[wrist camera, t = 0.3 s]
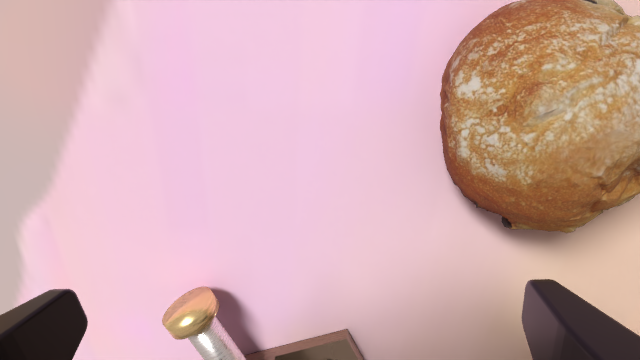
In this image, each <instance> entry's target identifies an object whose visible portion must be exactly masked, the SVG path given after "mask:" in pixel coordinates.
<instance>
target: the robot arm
mask: <svg viewBox="0 0 640 360" xmlns="http://www.w3.org/2000/svg"><path fill="white" fill-rule="evenodd" d="M87 323H88V321H87V317H86V314H85V312H84V310H83V308H82V306H81V304H80V301H79V299H78V297H77V295H76V293H75V292H74V291H73V290H70V289H53V290H49V291H47V292H45V293H43V294H41V295H39V296H37V297H35V298H33V299H31V300H29V301H28V302H26V303H24V304H22V305H20V306H18V307H16V308H14V309H12V310H10V311H8V312H6V313H4V314H2V315H0V360H72V359H73V357H74V355H75V352H76V350H77V348H78V346H79V344H80V342H81V340H82V338H83V336H84V334H85V332H86V329H87ZM522 324H523V328H524V332H525V335H526V338H527V342H528V345H529V348H530V351H531V355H532V358H533V360H640V336H639V335H637V334H635V333H634V332H632V331H631V330H629V329H628V328H626V327H625V326H623V325H622V324H620V323H619V322H617V321H616V320H614V319H613V318H611V317H609V316H608V315H606V314H605V313H603V312H602V311H600V310H599V309H597V308H596V307H594V306H593V305H591V304H590V303H588V302H587V301H585V300H584V299H582V298H580V297H579V296H577V295H576V294H574V293H573V292H571V291H570V290H568V289H567V288H565V287H564V286H562V285H561V284H559V283H558V282H556V281H554V280H550V279H544V280H530V281H528V282H527V284H526V287H525V295H524V302H523V310H522Z"/></svg>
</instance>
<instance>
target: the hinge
mask: <svg viewBox="0 0 640 360" xmlns="http://www.w3.org/2000/svg"><path fill="white" fill-rule="evenodd" d="M244 357H245V358H246V359H247V360H364V359H363V357H362V355H361V354H360V352H359V350H358V348H357V346H356V345H355V343H354V341H353V339H352V337H351V335H350V334H349V332H348V330H347V329H345V330H341V331H337V332H334V333H330V334H326V335H322V336H318V337H314V338H310V339H306V340H302V341H299V342H295V343H291V344H287V345H283V346H279V347H275V348H271V349H267V350H263V351H260V352H256V353H252V354H248V355H244Z"/></svg>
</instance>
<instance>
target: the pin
mask: <svg viewBox="0 0 640 360" xmlns="http://www.w3.org/2000/svg"><path fill="white" fill-rule="evenodd" d="M218 310H219V301H218V300H217V298H216V297H215V295H214V294H213V293H212V291H211V290H210V288H208V287H199V288H195V289H193V290H191V291H189V292H187V293H185V294H184V295H182V296H181V297H180V298H178V299H177V300H176V301H175V302H174V303H173V304H172V305H171V306H170V307H169V308H168V309H167V311H166V312H165V314H164V316H163V319H162V323H163V325H164V326H165V328H166V329H167V330H168V332H169V333H170V334H171V335H172V337H173V338H175V339H185V338H188V339H189V340H190V342H191V343H192V344H193V346H194V347H195V348H196V350H197V351H198V352H199V354H200V355H201V356H202V358H203V359H204V360H247V359H246V358H245V357H244V355H243V354H242V352H241V351H240V349H239V348H238V347H237V345H236V344H235V342H234V341H233V340H232V338H231V337H230V335H229V334H228V332H227V331H226V330H225V328H224V327H223V325H222V324H221V322H220V321H219V320H218V318H217V317H216V314H217V312H218Z"/></svg>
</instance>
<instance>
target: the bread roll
mask: <svg viewBox="0 0 640 360" xmlns="http://www.w3.org/2000/svg"><path fill="white" fill-rule="evenodd" d="M440 96H441V111H442V116H441V121H440V131H441V133H442V143H443V153H444V158H445V163H446V166H447V170H448V172H449V174H450V176H451V178H452V180H453V182H454V184H455V185H457V186H458V187H459V188H460V189H461V191H462V193H463V195H464V196H465V197H467V198H468V199H469V200H471V201H472V202H473V203H475V204H476V207H479V208H483V209H486V210H487V211H491V212H493V213H497V214H500V215H502V223H503V225H504V226H505V227H508V228H510V229H535V230H545V231H562V232H565V233H569V232H573V231H575V229H576V228H577V227H581V226H583V225H585V224H586V223H587V222H589V221H591V220H592V219H594V218H595V217H596V216H597V215H599V214H601V213H603V210H608V209H609V208H612V207H615V206H619V205H621V204H623V203H625V202H627V201H629V200H631V199H632V198H634V196H635V195H637V194H639V193H640V16H638V15H637V16H634V17H631V16H628V15H626V14H625V12H624V11H623V9H622V8H621V7H620V6H619V5H618V4H617V3H616V2H615V1H614V0H521V1H517V2H513V3H510V4H508V5H505V6H503V7H501V8H500V9H498V10H497V11H495V12H493V13H492V14H490V15H489V16H488V17H486V18H485V19H484V20H483V21H481V22H480V23H479V24H478V25H477V26H476V27H475V28H473V29H472V30H471V31H470V33H469V34H468V35H467V36H466V37H465V38H464V39H463V40H462V41H461V43H460V44H459V46H458V47H457V49H456V50H455V52H454V54H453V55H452V57H451V58H450V60H449V62H448V63H447V66H446V69H445V71H444V74H443V76H442V89H441V92H440Z"/></svg>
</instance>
